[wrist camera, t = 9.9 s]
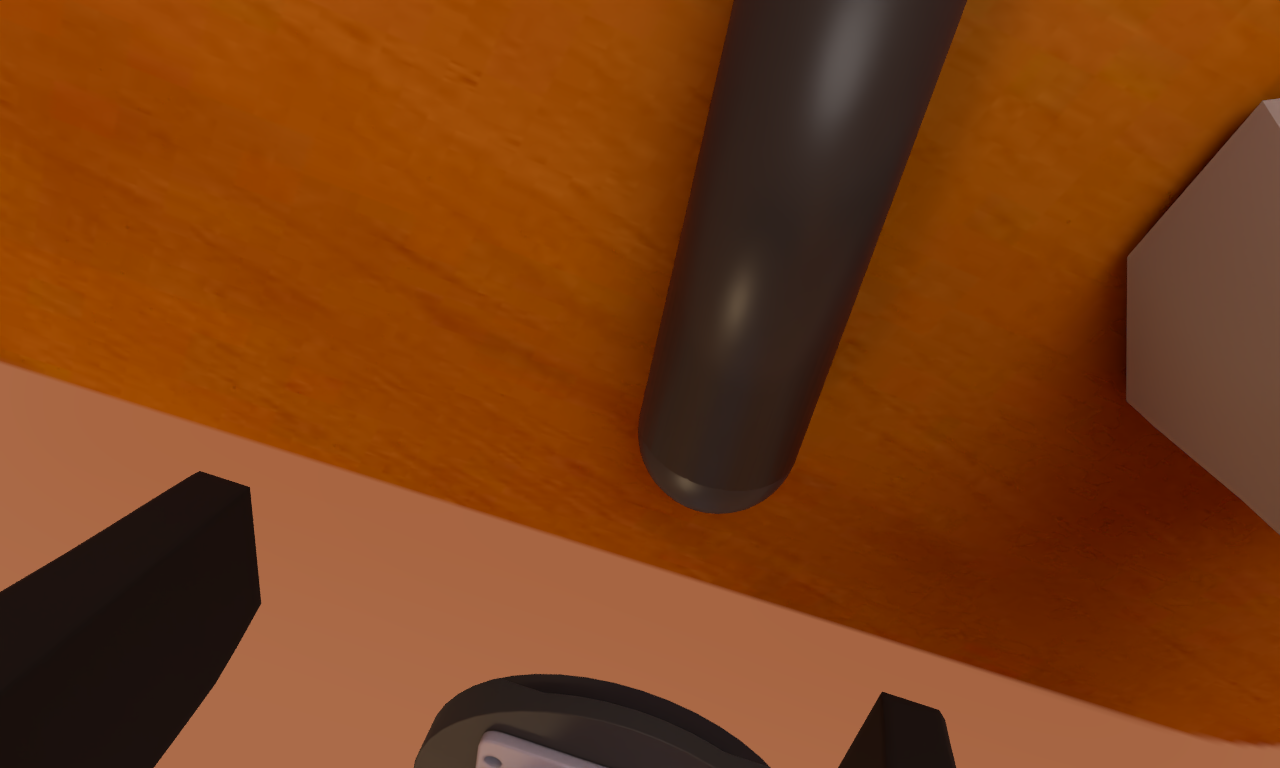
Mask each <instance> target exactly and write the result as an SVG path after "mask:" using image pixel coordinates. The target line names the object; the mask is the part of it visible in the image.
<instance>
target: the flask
mask: <svg viewBox="0 0 1280 768" xmlns="http://www.w3.org/2000/svg"><path fill="white" fill-rule="evenodd" d="M1126 401H1127V402H1128V403H1129V404H1130V405H1131V406H1132V407H1133V408H1135V409H1136V410H1137V411H1138V412H1139V413H1140V414H1141V415H1142V416H1143V417H1144V418H1145V419H1146V420H1148V421H1149V422H1150V423H1151V424H1152V425H1153V426H1154V427H1155V428H1156V429H1158V430H1159V431H1160V432H1161V433H1162V434H1164V435H1165V436H1166V437H1167V438H1168V439H1170V440H1171V441H1172V442H1173V443H1174V444H1176V445H1177V446H1178V447H1179V448H1180V449H1181V450H1183V451H1184V452H1185V453H1186V454H1187V455H1189V456H1190V457H1191V458H1192V459H1193V460H1195V461H1196V462H1197V463H1198V464H1199V465H1201V466H1202V467H1203V468H1204V469H1205V470H1207V471H1208V472H1209V473H1210V474H1211V475H1212V476H1214V477H1215V478H1216V479H1217V480H1218V481H1220V482H1221V483H1222V484H1223V485H1224V486H1226V487H1227V488H1228V489H1229V490H1230V491H1232V492H1233V493H1234V494H1235V495H1236V496H1238V497H1239V498H1240V499H1241V500H1242V501H1243V502H1244V503H1246V504H1247V505H1248V506H1249V507H1250V508H1251V509H1252V510H1253V511H1254V512H1255V513H1256V514H1257V515H1258V516H1260V517H1261V518H1262V519H1263V520H1264V521H1265V522H1266V523H1267V524H1268V525H1269V526H1270V527H1271V528H1272V529H1274V530H1275V531H1276V532H1277V533H1278V534H1279V535H1280V98H1278V99H1271V100H1264V101H1262V102H1261V103H1260V104H1259V105H1258V107H1257V108H1256V109H1255V110H1254V111H1253V112H1252V113H1251V115H1250V116H1249V117H1248V118H1247V119H1246V120H1245V122H1244V123H1243V124H1242V125H1241V126H1240V127H1239V128H1238V130H1237V131H1236V132H1235V133H1234V134H1233V135H1232V137H1231V138H1230V139H1229V140H1228V141H1227V142H1226V143H1225V145H1224V146H1223V147H1222V148H1221V149H1220V150H1219V151H1218V153H1217V154H1216V155H1215V156H1214V157H1213V158H1212V160H1211V161H1210V162H1209V163H1208V164H1207V165H1206V166H1205V168H1204V169H1203V170H1202V171H1201V172H1200V173H1199V175H1198V176H1197V177H1196V178H1195V179H1194V180H1193V181H1192V183H1191V184H1190V185H1189V186H1188V187H1187V188H1186V190H1185V191H1184V192H1183V193H1182V194H1181V195H1180V196H1179V198H1178V199H1177V200H1176V201H1175V202H1174V203H1173V204H1172V206H1171V207H1170V208H1169V209H1168V210H1167V211H1166V213H1165V214H1164V215H1163V216H1162V217H1161V218H1160V219H1159V221H1158V222H1157V223H1156V224H1155V225H1154V226H1153V228H1152V229H1151V230H1150V231H1149V232H1148V233H1147V234H1146V236H1145V237H1144V238H1143V239H1142V240H1141V241H1140V243H1139V244H1138V245H1137V246H1136V247H1135V248H1134V249H1133V251H1132V252H1131V253H1130V254H1129V255H1128V256H1127V347H1126Z"/></svg>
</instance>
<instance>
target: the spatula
mask: <svg viewBox="0 0 1280 768" xmlns="http://www.w3.org/2000/svg"><path fill="white" fill-rule="evenodd" d="M966 2H967V0H734V3H733V7H732V12H731V16H730V21H729V25H728V29H727V34H726V38H725V43H724V47H723V51H722V56H721V60H720V65H719V69H718V73H717V78H716V82H715V87H714V91H713V95H712V100H711V104H710V109H709V113H708V117H707V122H706V126H705V131H704V135H703V139H702V144H701V148H700V153H699V157H698V162H697V166H696V170H695V175H694V179H693V184H692V188H691V192H690V197H689V201H688V206H687V210H686V214H685V219H684V223H683V228H682V232H681V236H680V241H679V245H678V250H677V254H676V258H675V263H674V267H673V272H672V276H671V280H670V285H669V289H668V294H667V298H666V302H665V307H664V311H663V316H662V320H661V324H660V329H659V333H658V338H657V342H656V346H655V351H654V355H653V360H652V364H651V368H650V373H649V377H648V382H647V386H646V390H645V395H644V399H643V404H642V408H641V412H640V418H639V427H638V438H639V446H640V452H641V455H642V458H643V461H644V464H645V466H646V468H647V470H648V472H649V474H650V475H651V477H652V479H653V480H654V482H655V483H656V484H657V485H658V486H659V487H660V488H661V489H662V490H663V491H664V492H665V493H666V494H667V495H668V496H670V497H671V498H672V499H674V500H675V501H676V502H678V503H680V504H682V505H684V506H686V507H688V508H691V509H693V510H696V511H701V512H705V513H714V514H722V513H732V512H737V511H741V510H746V509H748V508H750V507H752V506H755V505H756V504H758V503H760V502H762V501H764V500H765V499H766V498H768V497H769V496H770V495H772V494H773V493H774V492H775V491H776V490H777V489H778V488H779V487H780V486H781V484H782V483H783V482H784V480H785V479H786V478H787V476H788V474H789V472H790V471H791V469H792V467H793V465H794V463H795V460H796V457H797V455H798V452H799V449H800V447H801V444H802V441H803V439H804V436H805V433H806V431H807V428H808V425H809V423H810V420H811V417H812V415H813V412H814V409H815V407H816V404H817V401H818V399H819V396H820V393H821V390H822V388H823V385H824V382H825V380H826V377H827V374H828V372H829V369H830V366H831V364H832V361H833V358H834V356H835V353H836V350H837V348H838V345H839V342H840V340H841V337H842V334H843V332H844V329H845V326H846V323H847V321H848V318H849V315H850V313H851V310H852V307H853V305H854V302H855V299H856V297H857V294H858V291H859V289H860V286H861V283H862V281H863V278H864V275H865V273H866V270H867V267H868V265H869V262H870V259H871V257H872V254H873V251H874V248H875V246H876V243H877V240H878V238H879V235H880V232H881V230H882V227H883V224H884V222H885V219H886V216H887V214H888V211H889V208H890V206H891V203H892V200H893V198H894V195H895V192H896V190H897V187H898V184H899V181H900V179H901V176H902V173H903V171H904V168H905V165H906V163H907V160H908V157H909V155H910V152H911V149H912V147H913V144H914V141H915V139H916V136H917V133H918V131H919V128H920V125H921V123H922V120H923V117H924V115H925V112H926V109H927V106H928V104H929V101H930V98H931V96H932V93H933V90H934V88H935V85H936V82H937V80H938V77H939V74H940V72H941V69H942V66H943V64H944V61H945V58H946V56H947V53H948V50H949V48H950V45H951V42H952V39H953V37H954V34H955V31H956V29H957V26H958V23H959V21H960V18H961V15H962V13H963V10H964V7H965V5H966Z"/></svg>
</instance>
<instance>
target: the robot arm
mask: <svg viewBox="0 0 1280 768" xmlns="http://www.w3.org/2000/svg"><path fill="white" fill-rule="evenodd" d="M260 605H261V597H260V587H259V576H258V566H257V557H256V546H255V535H254V525H253V515H252V505H251V494H250V487H248V486H244V485H241V484H238V483H235V482H232V481H229V480H226V479H223V478H220V477H216V476H214V475H210V474H207V473H204V472H201V471H199V472H197V473H195V474H193V475H191V476H190V477H188V478H186V479H185V480H183V481H182V482H180V483H178V484H177V485H175V486H173V487H172V488H170V489H168V490H167V491H165V492H164V493H162V494H161V495H159V496H157V497H156V498H154V499H152V500H151V501H149V502H148V503H146V504H145V505H143V506H141V507H140V508H138V509H136V510H135V511H133V512H132V513H130V514H129V515H127V516H125V517H124V518H122V519H120V520H119V521H117V522H116V523H114V524H112V525H111V526H109V527H107V528H106V529H105V530H103V531H101V532H99V533H98V534H96V535H95V536H93V537H91V538H90V539H88V540H86V541H85V542H83V543H82V544H80V545H78V546H77V547H75V548H73V549H72V550H70V551H69V552H67V553H65V554H64V555H62V556H60V557H58V558H57V559H55V560H54V561H52V562H50V563H48V564H47V565H45V566H43V567H42V568H40V569H38V570H37V571H35V572H33V573H31V574H30V575H28V576H26V577H25V578H23V579H21V580H20V581H18V582H16V583H15V584H13V585H11V586H10V587H8V588H6V589H4V590H3V591H1V592H0V768H154V767H155V765H156V764H157V763H158V761H159V760H160V758H161V757H162V756H163V754H164V753H165V752H166V750H167V749H168V748H169V746H170V745H171V744H172V742H173V741H174V740H175V738H176V737H177V735H178V734H179V733H180V731H181V730H182V729H183V727H184V726H185V725H186V723H187V722H188V721H189V719H190V718H191V716H192V715H193V714H194V712H195V711H196V710H197V708H198V707H199V705H200V704H201V703H202V701H203V700H204V699H205V697H206V696H207V694H208V693H209V691H210V690H211V689H212V688H213V686H214V685H215V683H216V682H217V680H218V678H219V676H220V675H221V673H222V671H223V670H224V668H225V666H226V665H227V663H228V661H229V660H230V658H231V656H232V654H233V653H234V651H235V649H236V648H237V646H238V644H239V642H240V641H241V638H242V637H243V635H244V633H245V631H246V630H247V628H248V626H249V624H250V623H251V620H252V619H253V617H254V615H255V613H256V612H257V610H258V608H259V606H260ZM476 768H608V767H605V766H602V765H599V764H596V763H593V762H590V761H587V760H584V759H581V758H578V757H575V756H572V755H569V754H566V753H563V752H560V751H557V750H554V749H551V748H548V747H545V746H542V745H539V744H536V743H533V742H530V741H527V740H524V739H521V738H518V737H515V736H512V735H509V734H506V733H503V732H500V731H487V732H485V733H484V734H483V736H482V738H481V740H480V743H479V745H478V752H477V760H476ZM838 768H956V765H955V761H954V757H953V753H952V749H951V744H950V740H949V736H948V731H947V727H946V722H945V719H944V718H943V716H942V714H941V713H940V711H939V710H937V709H934V708H931V707H928V706H925V705H922V704H918V703H916V702H912V701H909V700H906V699H903V698H900V697H897V696H894V695H891V694H887V693H885V692H882V693H881V694H880V696H879V698H878V700H877V701H876V703H875V705H874V706H873V708H872V710H871V712H870V713H869V715H868V717H867V719H866V720H865V722H864V724H863V726H862V727H861V729H860V731H859V732H858V734H857V736H856V738H855V739H854V741H853V743H852V745H851V746H850V749H849V750H848V752H847V753H846V755H845V757H844V759H843V760H842V762H841V764H840V766H839V767H838Z"/></svg>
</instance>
